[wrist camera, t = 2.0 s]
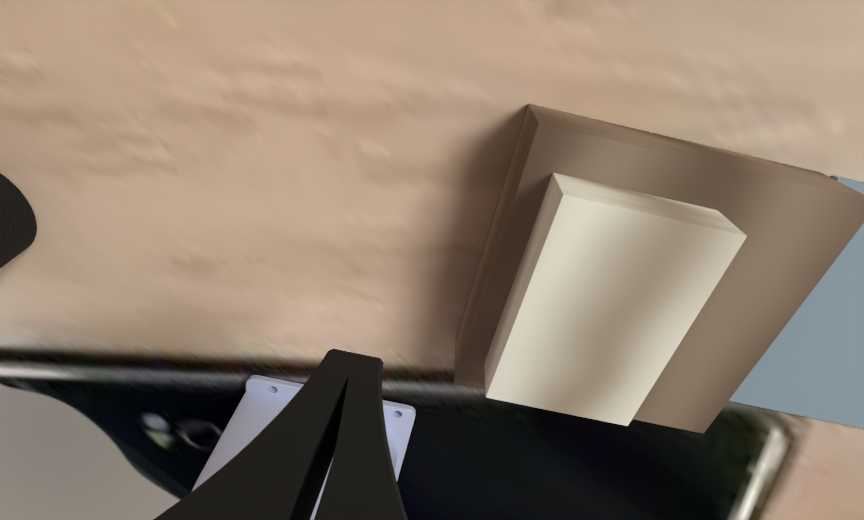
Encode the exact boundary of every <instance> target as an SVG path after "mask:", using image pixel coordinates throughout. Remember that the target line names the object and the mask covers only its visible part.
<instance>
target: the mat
mask: <svg viewBox="0 0 864 520" xmlns="http://www.w3.org/2000/svg"><path fill="white" fill-rule="evenodd" d="M832 179H834V180H836V181H838V182H840V183H842V184H844V185H846V186H848V187H850V188H852V189H854V190H856V191H858V192H860V193H861V194H863V195H864V183H862V182H858V181H854V180H850V179H845V178H841V177H837V176H833V177H832ZM729 401H732V402H737V403H742V404H747V405H752V406H756V407H761V408H766V409H771V410H776V411H781V412H785V413H790V414H795V415H800V416H805V417H809V418H814V419H819V420H824V421H829V422H834V423H838V424H843V425H848V426H853V427H858V428H863V429H864V223H863V225H862V226H861V227H860V229H859V230H858V231H857V233H856V234H855V235H854V236H853V238H852V239H851V240H850V242H849V243H848V244H847V246H846V247H845V248H844V250H843V251H842V252H841V254H840V255H839V256H838V257H837V259H836V260H835V261H834V263H833V264H832V265H831V267H830V268H829V269H828V271H827V272H826V273H825V275H824V276H823V277H822V278H821V280H820V281H819V282H818V284H817V285H816V286H815V288H814V289H813V290H812V292H811V293H810V294H809V296H808V297H807V298H806V300H805V301H804V302H803V303H802V305H801V306H800V307H799V309H798V310H797V311H796V313H795V314H794V315H793V317H792V318H791V319H790V321H789V322H788V323H787V324H786V326H785V327H784V328H783V330H782V331H781V332H780V334H779V335H778V336H777V338H776V339H775V340H774V342H773V343H772V344H771V345H770V347H769V348H768V349H767V351H766V352H765V353H764V355H763V356H762V357H761V359H760V360H759V361H758V363H757V364H756V365H755V366H754V368H753V369H752V370H751V372H750V373H749V374H748V376H747V377H746V378H745V380H744V381H743V382H742V384H741V385H740V386H739V388H738V389H737V390H736V391H735V393H734V394H733V395H732V397H731V398H730V399H729Z"/></svg>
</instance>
